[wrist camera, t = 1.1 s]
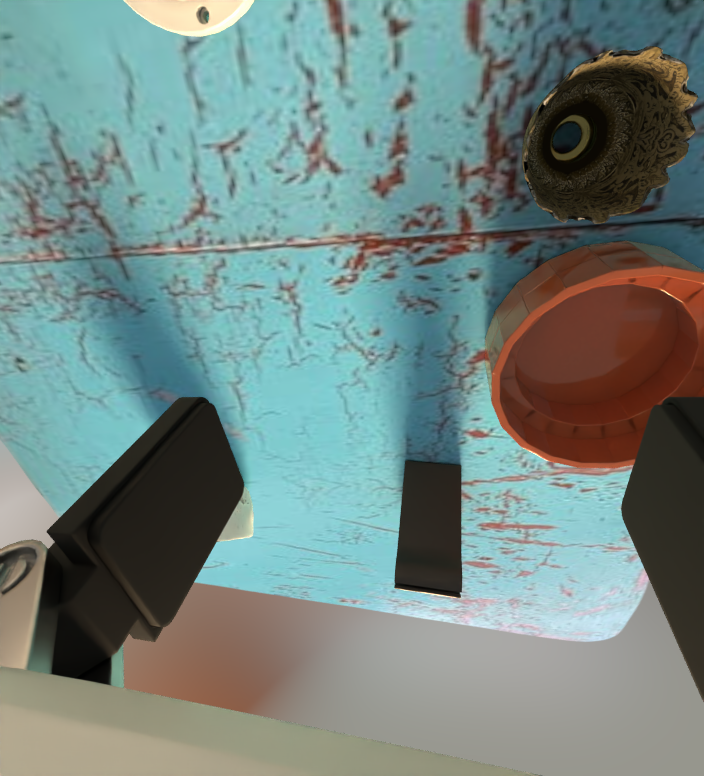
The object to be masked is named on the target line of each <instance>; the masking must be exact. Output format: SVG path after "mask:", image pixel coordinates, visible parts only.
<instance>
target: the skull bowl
mask: <svg viewBox="0 0 704 776" xmlns="http://www.w3.org/2000/svg"><path fill="white" fill-rule="evenodd" d="M253 517H254V515H253V505H252V500H251V496H250V493H249V491H248V489H247V488H246V487H244V492H243V495H242V497H241V499H240V501H239V503H238V504H237V506H236V508H235V510H234V512H233V513H232V515H231V517H230V519H229V520H228V522H227V524H226V526H225V528H224V529H223V531H222V533H221V535H220V537H219V538H218V540H217V542H219V541H227V540H234V539H241V538H247V537H251V536H253Z"/></svg>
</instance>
